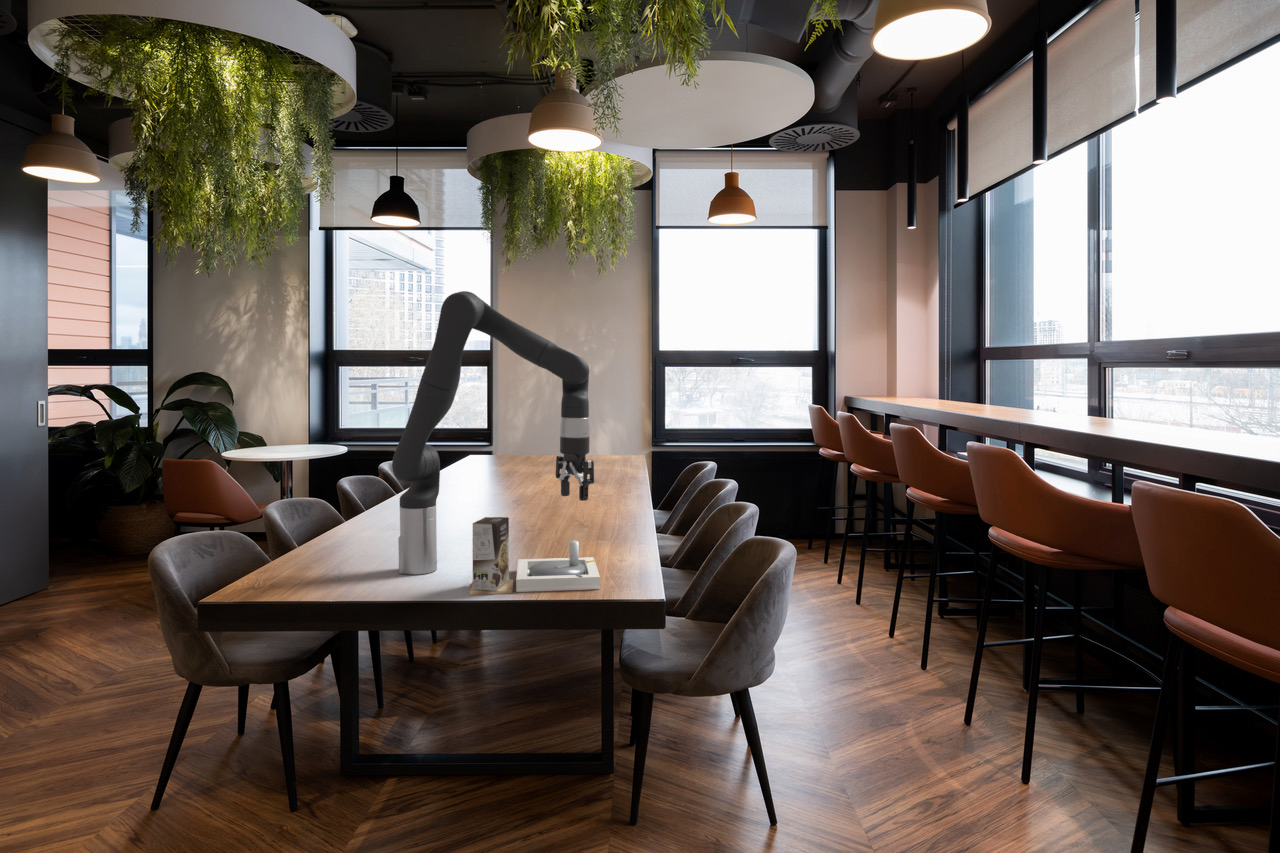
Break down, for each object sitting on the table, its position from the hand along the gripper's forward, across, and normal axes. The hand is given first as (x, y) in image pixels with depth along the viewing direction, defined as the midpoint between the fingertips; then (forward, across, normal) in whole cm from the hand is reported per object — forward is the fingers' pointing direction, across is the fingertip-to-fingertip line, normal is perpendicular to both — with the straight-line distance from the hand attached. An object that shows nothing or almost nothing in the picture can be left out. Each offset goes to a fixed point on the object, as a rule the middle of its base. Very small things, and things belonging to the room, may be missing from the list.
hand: (574, 498), depth 190 cm
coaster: (+20, +2, +22) cm, 30 cm away
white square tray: (+20, 0, +5) cm, 21 cm away
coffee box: (+20, +3, +22) cm, 30 cm away
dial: (+19, 0, +5) cm, 20 cm away
